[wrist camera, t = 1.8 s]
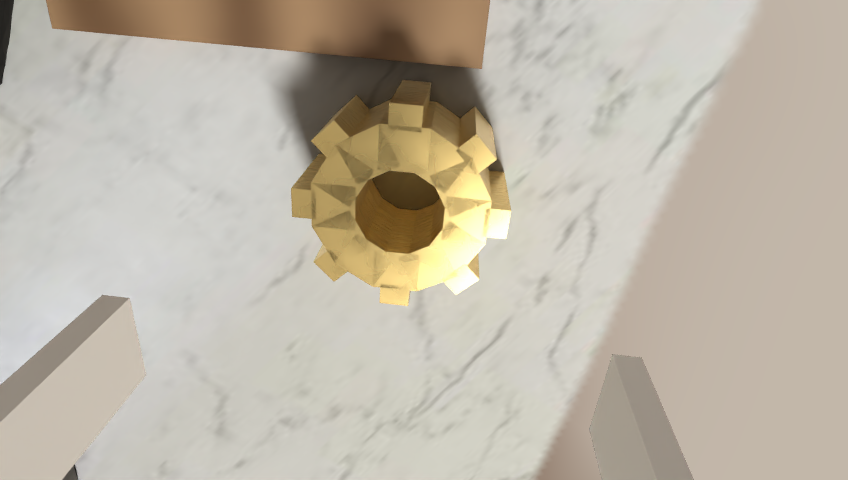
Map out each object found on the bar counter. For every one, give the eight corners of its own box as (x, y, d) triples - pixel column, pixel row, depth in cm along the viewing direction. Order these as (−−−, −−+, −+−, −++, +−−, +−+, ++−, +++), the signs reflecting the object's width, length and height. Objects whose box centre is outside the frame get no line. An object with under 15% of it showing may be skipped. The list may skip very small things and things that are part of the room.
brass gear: (320, 246, 31) (295, 293, 26) (318, 71, 26) (287, 92, 22) (489, 264, 30) (493, 314, 26) (517, 90, 26) (526, 115, 21)
